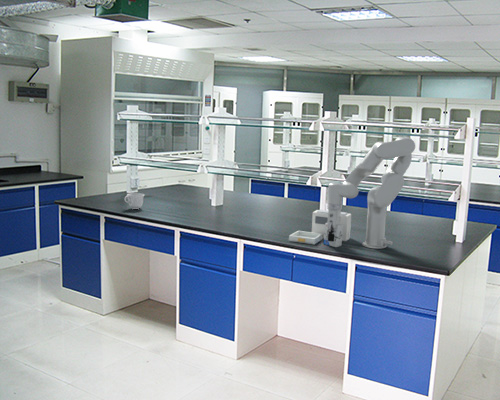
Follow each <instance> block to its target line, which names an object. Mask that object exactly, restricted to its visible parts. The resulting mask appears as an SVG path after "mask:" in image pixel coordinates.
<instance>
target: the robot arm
mask: <svg viewBox="0 0 500 400" xmlns="http://www.w3.org/2000/svg"><path fill="white" fill-rule="evenodd" d="M415 149H416V143H415V140H414V139H412V138H409V137H406V136H398V137H397V138H395V140H391V141H386V142H384V141H376V142H375V143H374V144H373V145H372V147H371V148H370V149H369V151H368V152H367V153H366V154H365V156H364V157H363V159H362V160H361V161H360V163H359V164H358V165H357V166H356V167H355V168H354V169H353V170H352V171H351V172H349V174H348V175H347V177H346V178H345V180H344V181H343V182H342V183H339V182H329V184H328V188H327V189H328V190H327V207H326V210H328V221H327V227H328V241H332V242H333V241H334V228H335V229H337V225H339V224H341V212H342V209H343V208H342V207H343V198H346V199H354V198H356V197H358V195H359V188H358V186H359V185H360V183H362V181H363V180H364V179H366V178H367V177H370V176H371V175H372V174H374V173H375V171H376V170H377V169H378V167H379V166H380V165H381V163H382V162H383V161H384V160H391V159H393V160H392V162H391V163H390V164H389V166H388V167H387V169H386V170H385V172H383V174H382V176H381V179H380V181H381V185H380V186H374V187H372V188H371V189H369V191H368V193H367V199H366V200H367V216H366V230H365V232H366V233H365V241H362V243H361V244H362V246H363V247H364V248H368V249H375V250H376V249H377V250H378V249H379V250H381V249H385V248H386V249H387V245H389V246H392V245H393V241H391V240H387V238H386V237H385V233H386V220H387V219H386V218H387V208H388V207H389V206H390V205H391V204H392V203H393V201H395V199H396V197H397V196H398V195H399V193H400V192H401V191H402V189H403V187H404V185H405V178H404V175H405V173H407V171H408V169H409V167H410V165H411V163H412V158H413V157H412V155H413V153H414V152H415ZM331 227H333V228H331ZM331 229H333V231H332V230H331Z"/></svg>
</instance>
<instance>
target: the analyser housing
mask: <svg viewBox="0 0 500 400" xmlns="http://www.w3.org/2000/svg"><path fill="white" fill-rule="evenodd" d="M328 211H329V210H328V209H316V210H314V211H313V212H312V218H311V232H313V233H320V234H323V239H324V233H325V223H327V221H328ZM341 224H342V225H343V229H342V242H347V241H348V240H350V238H351V226H352V213H348V212H345V211H341Z"/></svg>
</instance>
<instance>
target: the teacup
mask: <svg viewBox="0 0 500 400" xmlns="http://www.w3.org/2000/svg"><path fill="white" fill-rule="evenodd" d="M144 197H145V194H144V193H140V192H132V193H127V194H126V196H124V202H125V203H127V204H128V205H129V207H130V208H131V210H133V209H138V210H140V209H141V207H143V205H144V204H143V203H144ZM139 208H140V209H139Z"/></svg>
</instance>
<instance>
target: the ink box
mask: <svg viewBox="0 0 500 400" xmlns="http://www.w3.org/2000/svg"><path fill="white" fill-rule="evenodd" d="M331 228H333V227H331ZM342 229H343V225H342V224H339V225H337V229H335V228H334V241H333V242H332V241H328V227H327V223H325V233H324V238H323V245H326V246H331V247H333V248H338V247H339V248H340V247H342V242H343V241H342ZM331 230H332V231H333V229H331Z"/></svg>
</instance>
